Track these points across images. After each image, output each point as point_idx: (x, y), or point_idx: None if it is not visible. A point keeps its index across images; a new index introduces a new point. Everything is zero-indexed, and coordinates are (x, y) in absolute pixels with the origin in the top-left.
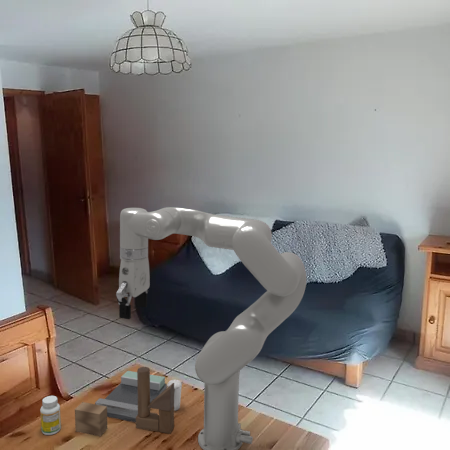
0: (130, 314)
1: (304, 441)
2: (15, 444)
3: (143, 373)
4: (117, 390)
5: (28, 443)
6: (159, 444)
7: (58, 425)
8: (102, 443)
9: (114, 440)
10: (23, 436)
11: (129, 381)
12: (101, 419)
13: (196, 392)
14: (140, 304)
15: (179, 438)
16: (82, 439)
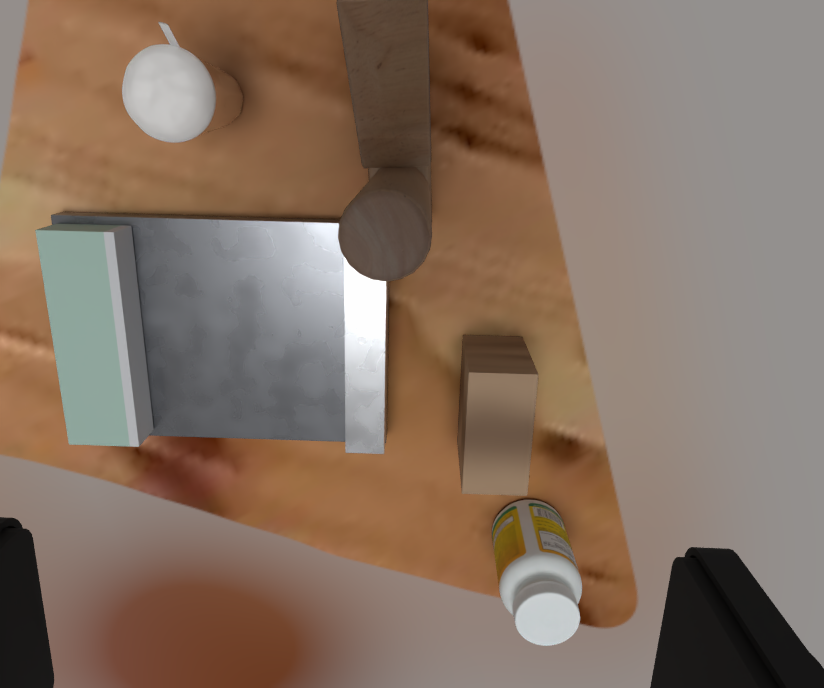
0: (744, 600)
1: None
2: (631, 589)
3: (427, 216)
4: (210, 419)
5: (618, 555)
6: (513, 56)
7: (537, 513)
8: (561, 306)
9: (532, 268)
10: (584, 591)
11: (140, 395)
12: (516, 361)
13: (31, 30)
14: (23, 646)
15: None
16: (555, 393)
